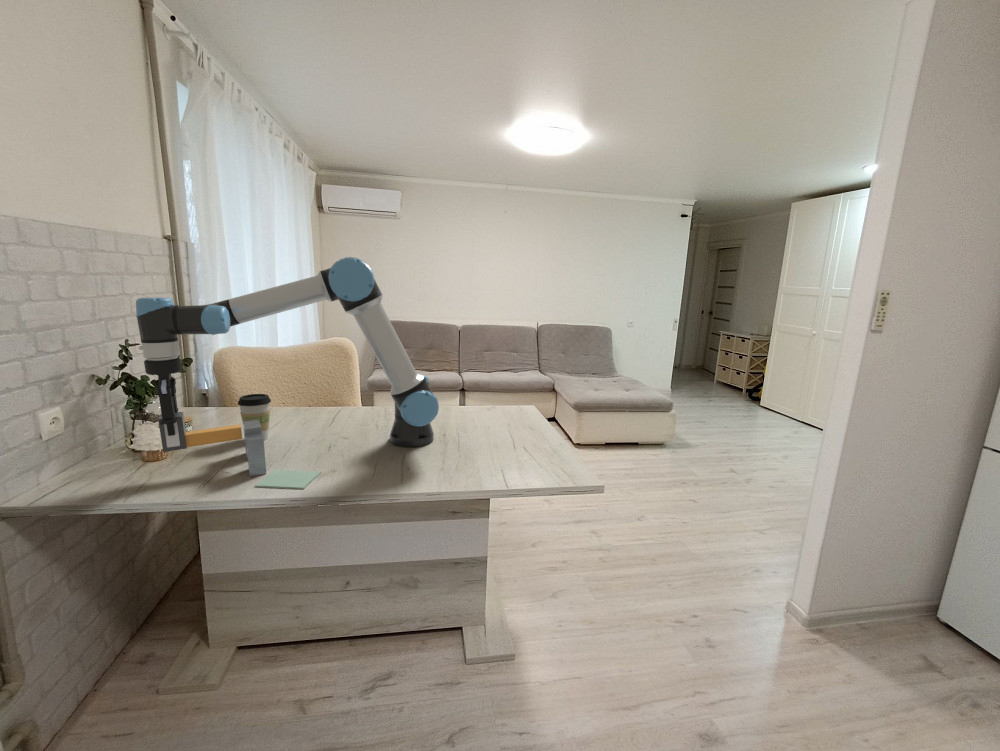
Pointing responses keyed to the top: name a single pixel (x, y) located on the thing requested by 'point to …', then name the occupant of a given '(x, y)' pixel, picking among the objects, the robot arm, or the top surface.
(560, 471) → the top surface
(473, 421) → the top surface
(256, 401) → the coffee cup
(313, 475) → the mat
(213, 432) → the plug
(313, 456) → the top surface
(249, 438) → the block
